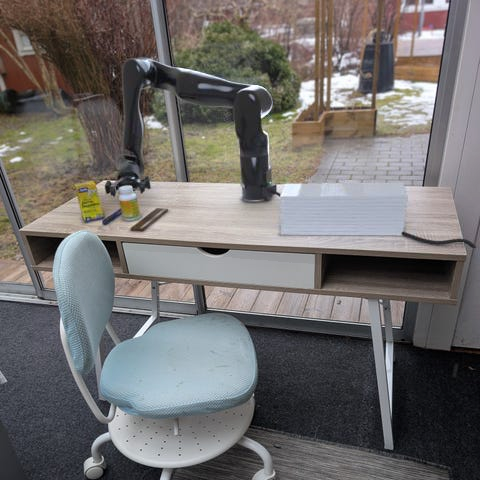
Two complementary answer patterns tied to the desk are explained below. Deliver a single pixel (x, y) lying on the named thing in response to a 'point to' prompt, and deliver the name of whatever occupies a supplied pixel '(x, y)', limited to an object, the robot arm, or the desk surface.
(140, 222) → the dark brown flat bar
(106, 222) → the pen
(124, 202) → the supplement bottle
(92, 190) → the supplement box
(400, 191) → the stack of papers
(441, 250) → the desk surface
